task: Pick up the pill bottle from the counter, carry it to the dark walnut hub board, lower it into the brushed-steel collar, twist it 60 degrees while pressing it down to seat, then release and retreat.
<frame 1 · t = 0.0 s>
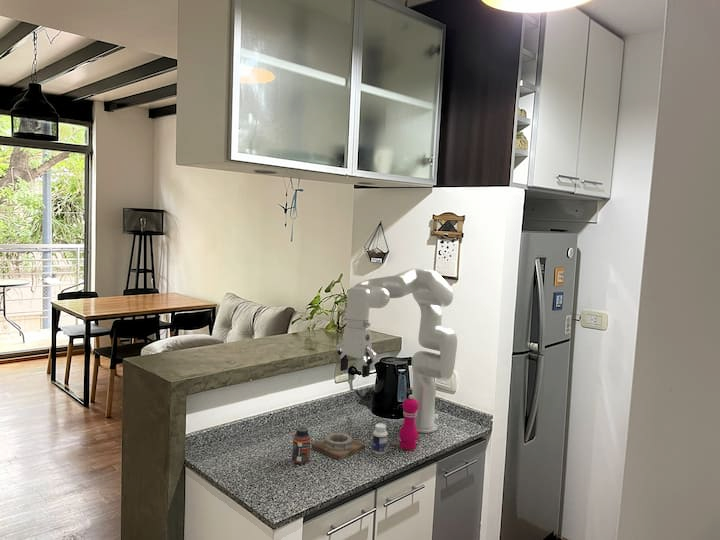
hand: (354, 373, 181), 31 cm above the counter, fingers open, 9 cm apart
hub board: (338, 448, 194), on the counter
pill bottle: (379, 451, 193), on the counter
pepper mill: (407, 447, 199), on the counter
supplement bottle: (300, 461, 182), on the counter
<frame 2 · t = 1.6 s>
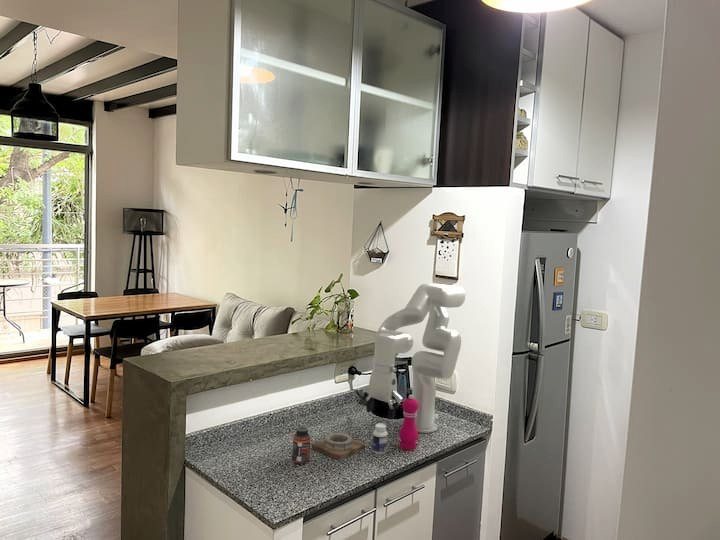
hand: (380, 414, 192), 14 cm above the counter, fingers open, 9 cm apart
nothing on the counter moved.
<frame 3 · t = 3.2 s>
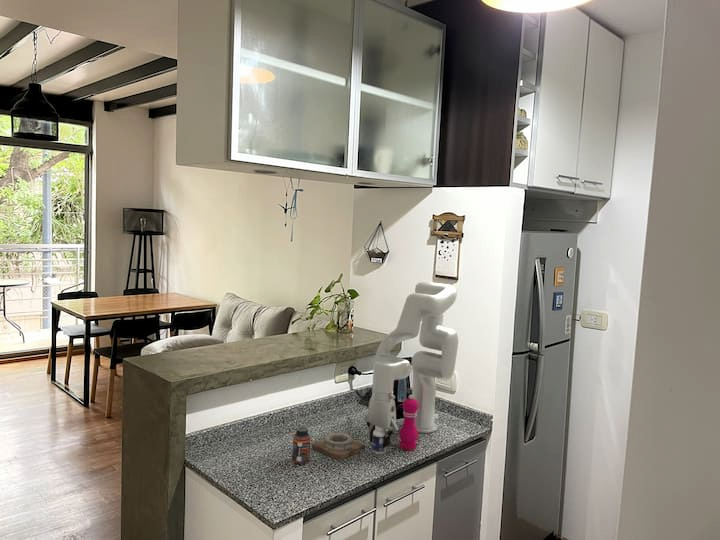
hand: (379, 443, 193), 3 cm above the counter, fingers closed on pill bottle, 5 cm apart
pill bottle: (379, 451, 193), on the counter, touching gripper
everything else where it was.
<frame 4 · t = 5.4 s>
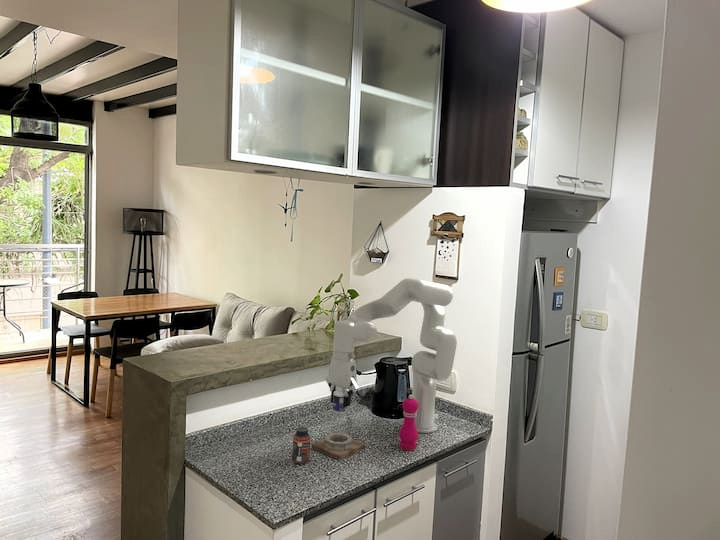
hand: (340, 403, 193), 17 cm above the counter, fingers closed on pill bottle, 5 cm apart
pill bottle: (339, 412, 193), point 14 cm above the counter, touching gripper
everything else where it was.
when the fingers open (5 cm above the counter, at t = 7.6 s): pill bottle stays where it is, resting on hub board.
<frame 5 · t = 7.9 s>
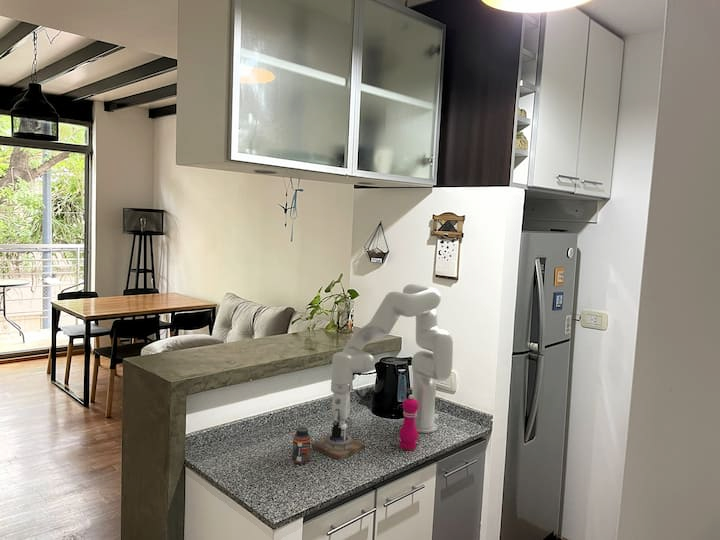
hand: (339, 432, 194), 6 cm above the counter, fingers open, 8 cm apart
pill bottle: (338, 444, 194), point 1 cm above the counter, touching hub board
everything else where it was.
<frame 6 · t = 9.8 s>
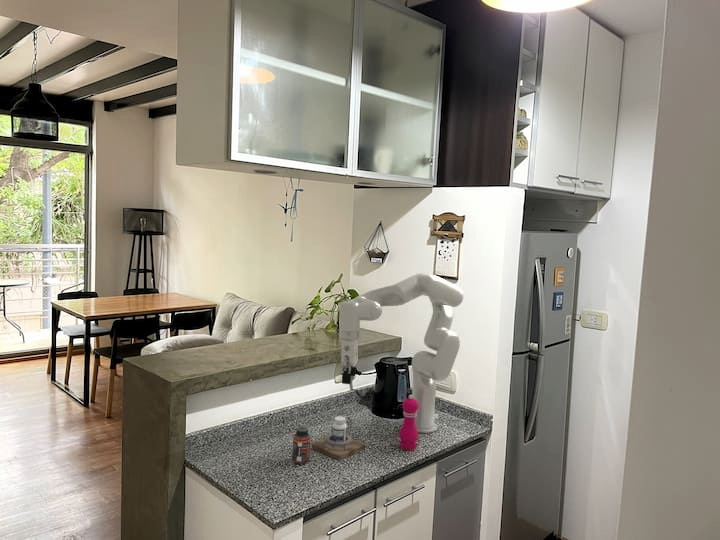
hand: (348, 379, 198), 24 cm above the counter, fingers open, 9 cm apart
nothing on the counter moved.
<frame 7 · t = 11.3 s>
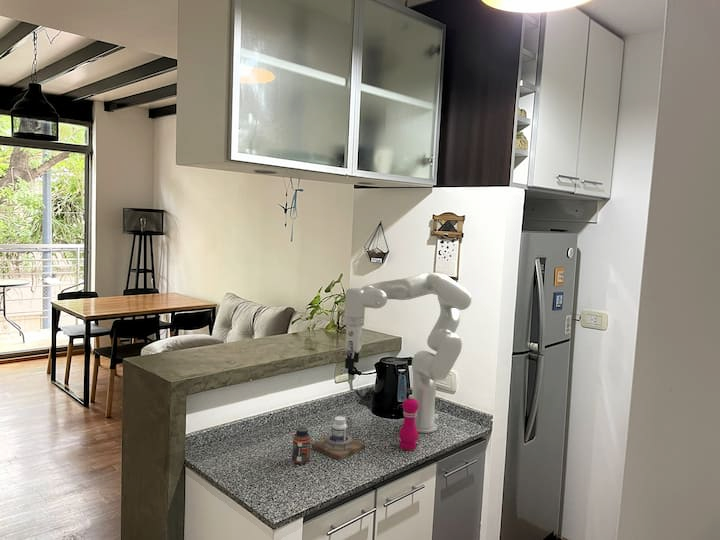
hand: (351, 365, 202), 28 cm above the counter, fingers open, 9 cm apart
nothing on the counter moved.
at the end: pill bottle 0.2 cm off-centre on the hub board, point 1.3 cm above the hub board's base; pill bottle tilted 0°; the gripper is holding nothing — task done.
